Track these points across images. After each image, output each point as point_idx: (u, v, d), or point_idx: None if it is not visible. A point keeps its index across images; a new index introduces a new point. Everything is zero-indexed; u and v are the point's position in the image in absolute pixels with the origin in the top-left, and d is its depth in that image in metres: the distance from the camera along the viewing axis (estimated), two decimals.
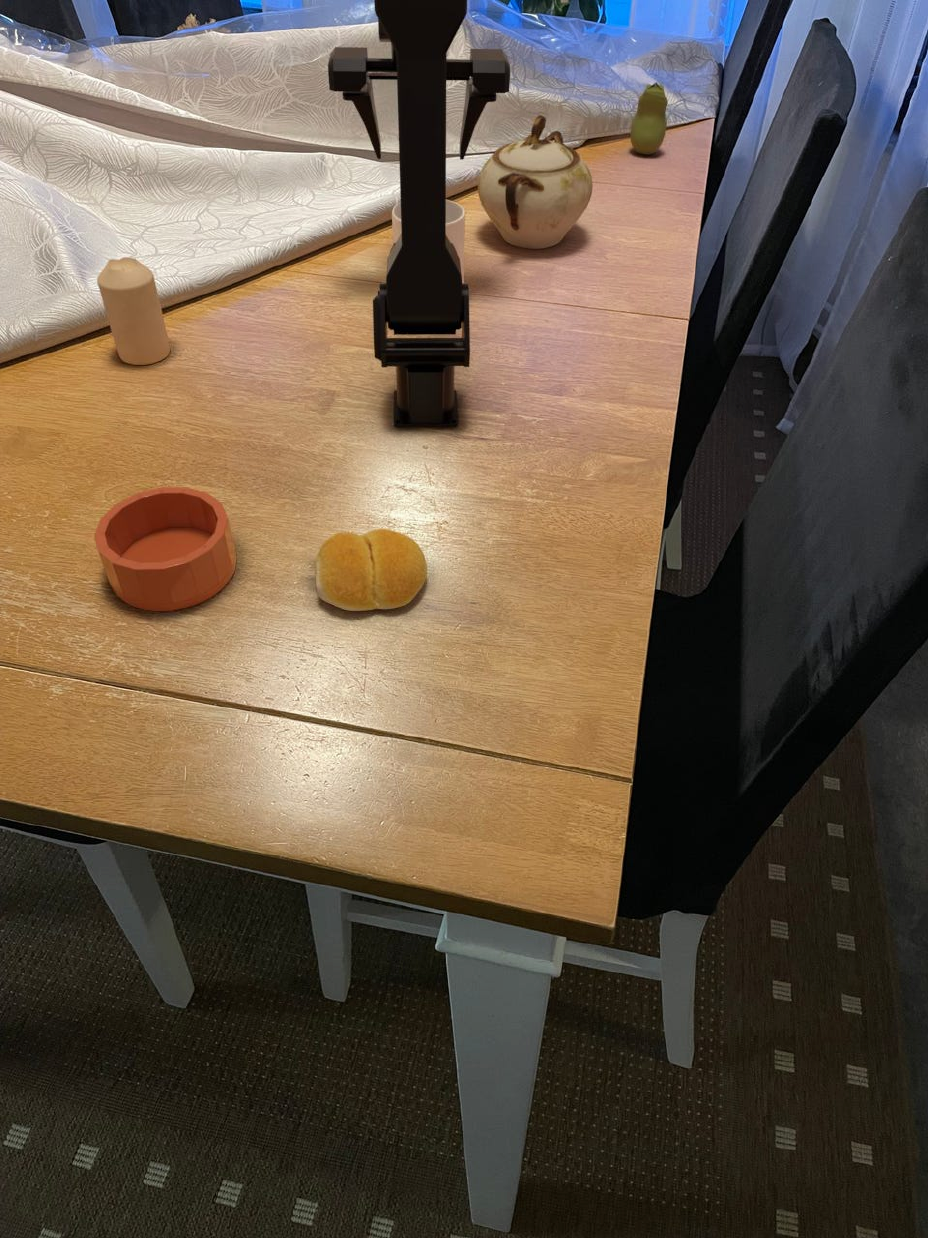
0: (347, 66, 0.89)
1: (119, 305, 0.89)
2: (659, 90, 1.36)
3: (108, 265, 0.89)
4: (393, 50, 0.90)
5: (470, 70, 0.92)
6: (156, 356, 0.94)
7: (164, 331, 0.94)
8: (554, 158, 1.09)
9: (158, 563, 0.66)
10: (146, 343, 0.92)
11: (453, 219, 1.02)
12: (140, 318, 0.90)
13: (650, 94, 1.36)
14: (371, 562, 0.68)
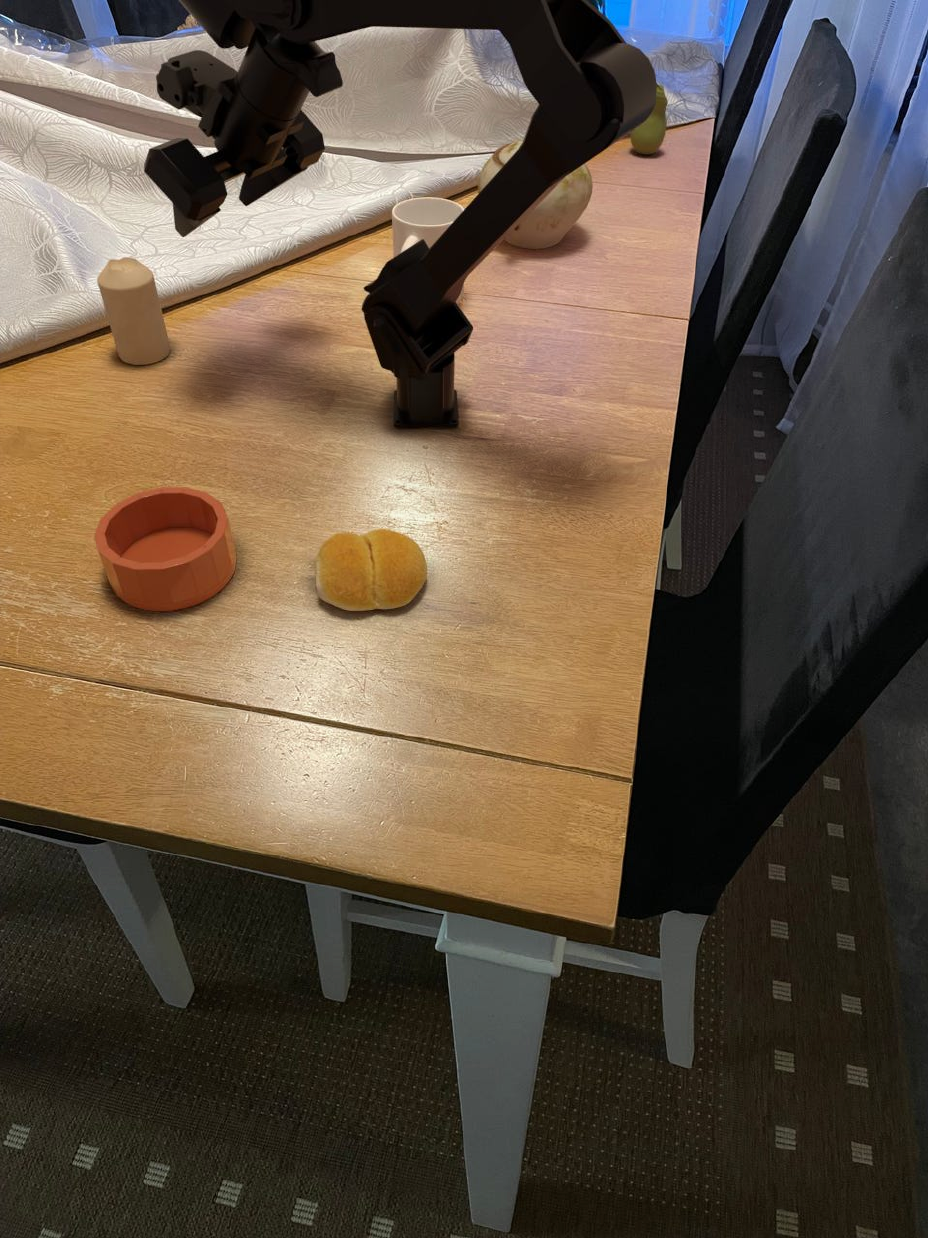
0: (211, 195, 0.76)
1: (119, 305, 0.89)
2: (659, 90, 1.36)
3: (108, 265, 0.89)
4: (238, 155, 0.78)
5: None
6: (156, 356, 0.94)
7: (164, 331, 0.94)
8: None
9: (158, 563, 0.66)
10: (146, 343, 0.92)
11: (453, 219, 1.02)
12: (140, 318, 0.90)
13: None
14: (371, 562, 0.68)
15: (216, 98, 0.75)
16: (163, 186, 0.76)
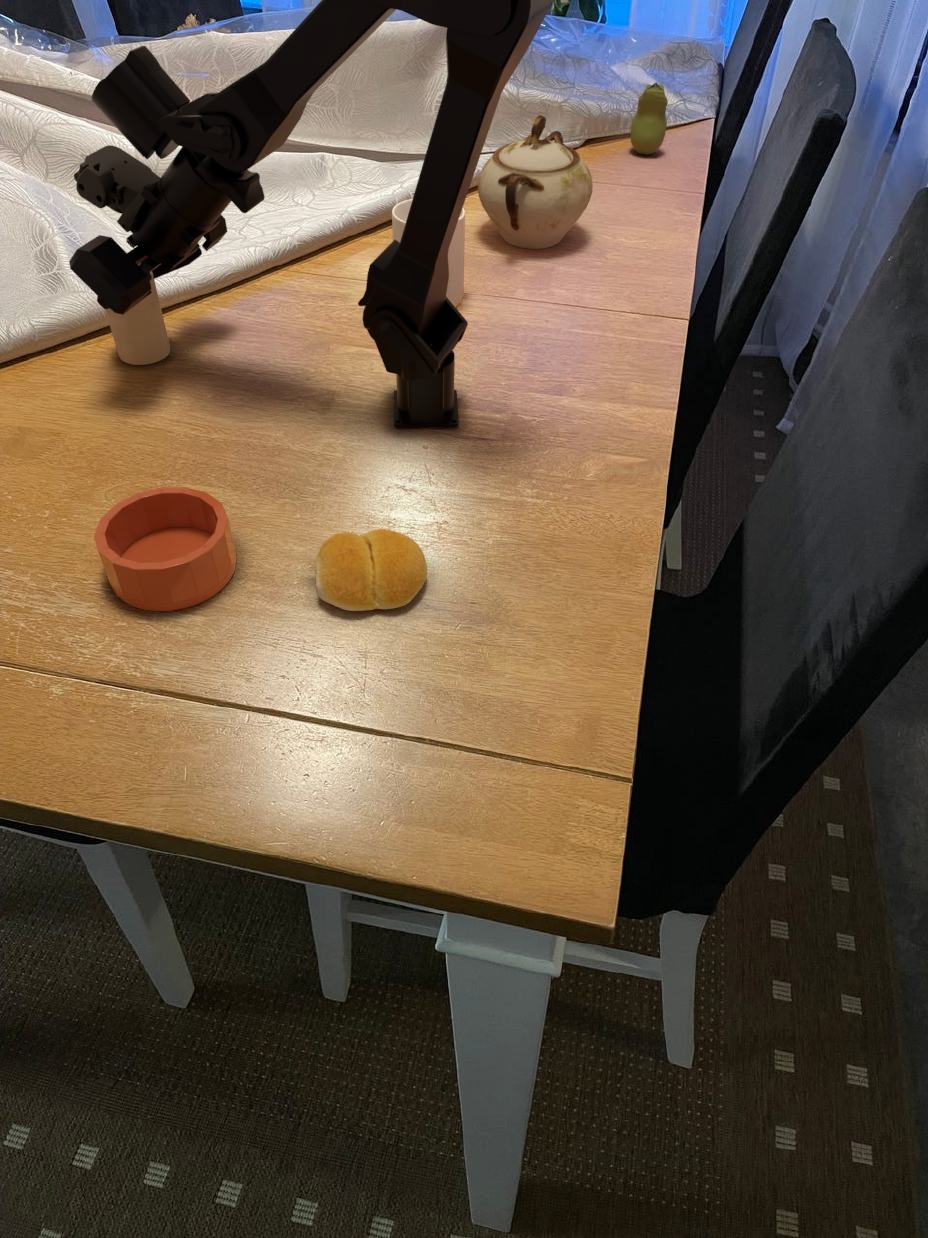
0: (139, 292, 0.81)
1: None
2: (659, 90, 1.36)
3: None
4: (158, 250, 0.83)
5: None
6: (156, 356, 0.94)
7: (164, 331, 0.94)
8: (554, 158, 1.09)
9: (158, 563, 0.66)
10: (146, 343, 0.92)
11: None
12: (140, 318, 0.90)
13: (650, 94, 1.36)
14: (371, 562, 0.68)
15: (138, 201, 0.80)
16: (91, 283, 0.80)
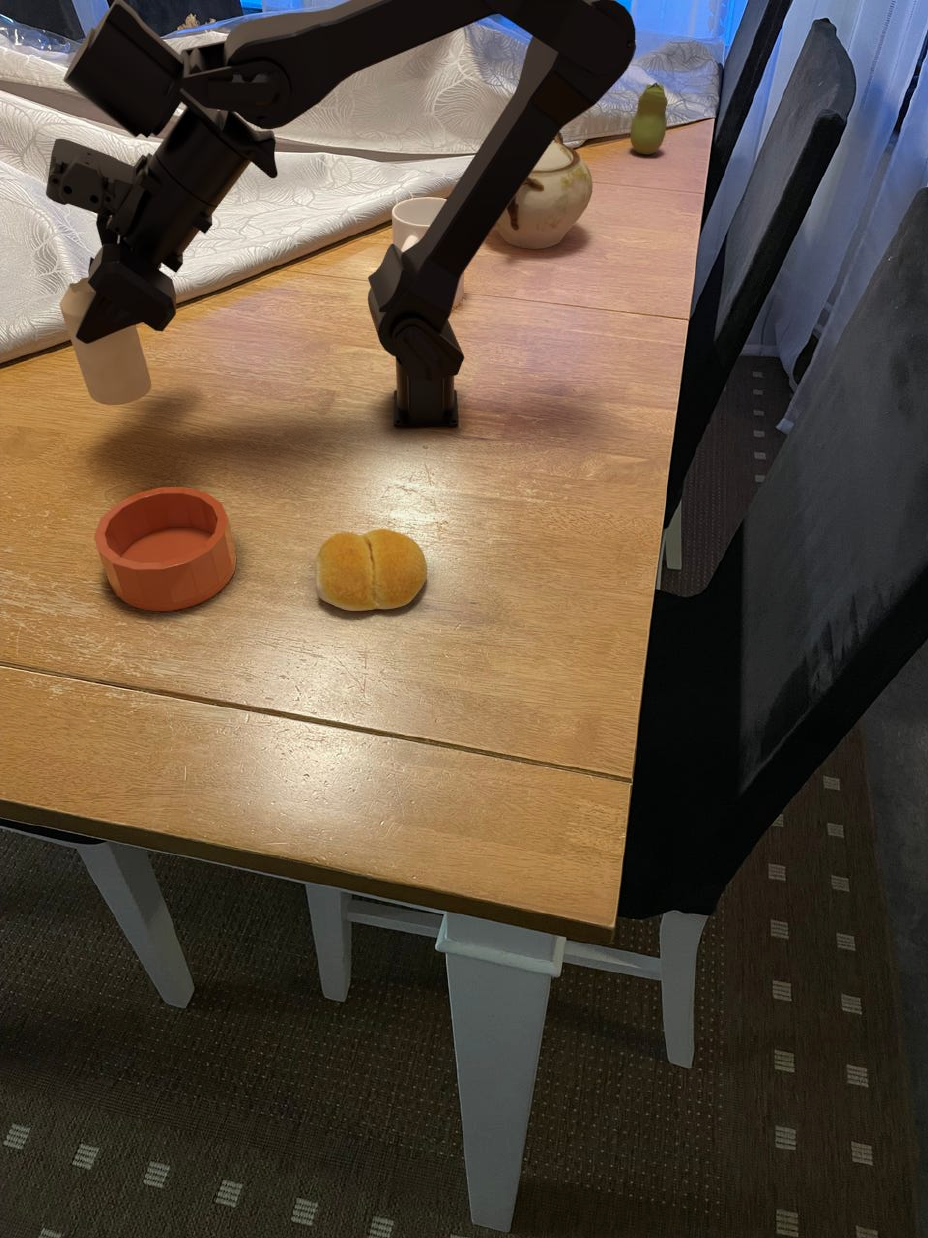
0: (174, 299, 0.68)
1: None
2: (659, 90, 1.36)
3: (72, 291, 0.73)
4: (164, 250, 0.70)
5: None
6: (146, 387, 0.79)
7: (143, 356, 0.79)
8: (554, 158, 1.09)
9: (158, 563, 0.66)
10: (136, 373, 0.77)
11: None
12: (128, 344, 0.75)
13: (650, 94, 1.36)
14: (371, 562, 0.68)
15: (136, 193, 0.67)
16: (124, 302, 0.65)
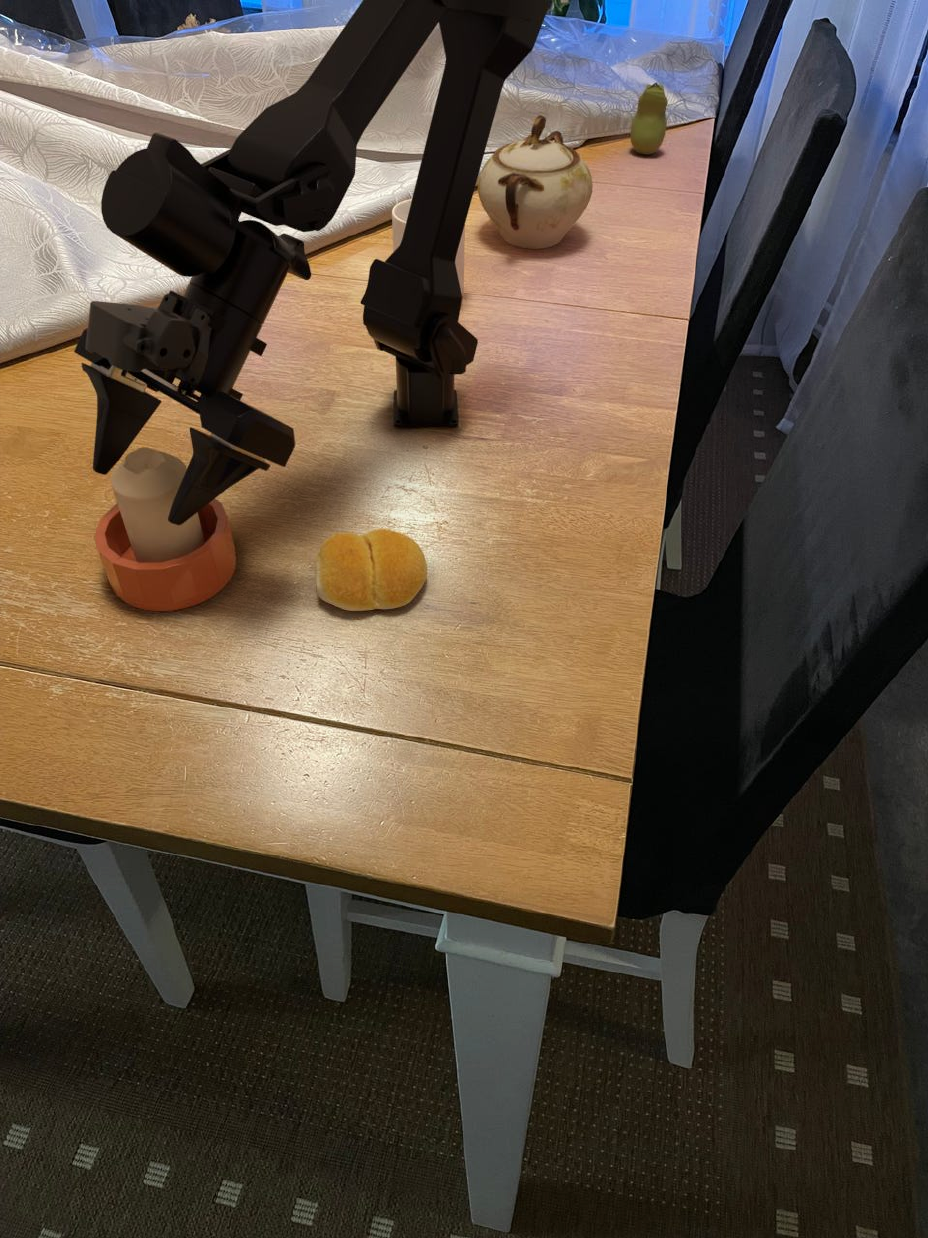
0: None
1: None
2: (659, 90, 1.36)
3: (133, 473, 0.64)
4: (229, 386, 0.64)
5: None
6: None
7: None
8: (554, 158, 1.09)
9: (158, 563, 0.66)
10: (202, 534, 0.70)
11: None
12: None
13: (650, 94, 1.36)
14: (371, 562, 0.68)
15: (206, 335, 0.60)
16: (261, 449, 0.60)
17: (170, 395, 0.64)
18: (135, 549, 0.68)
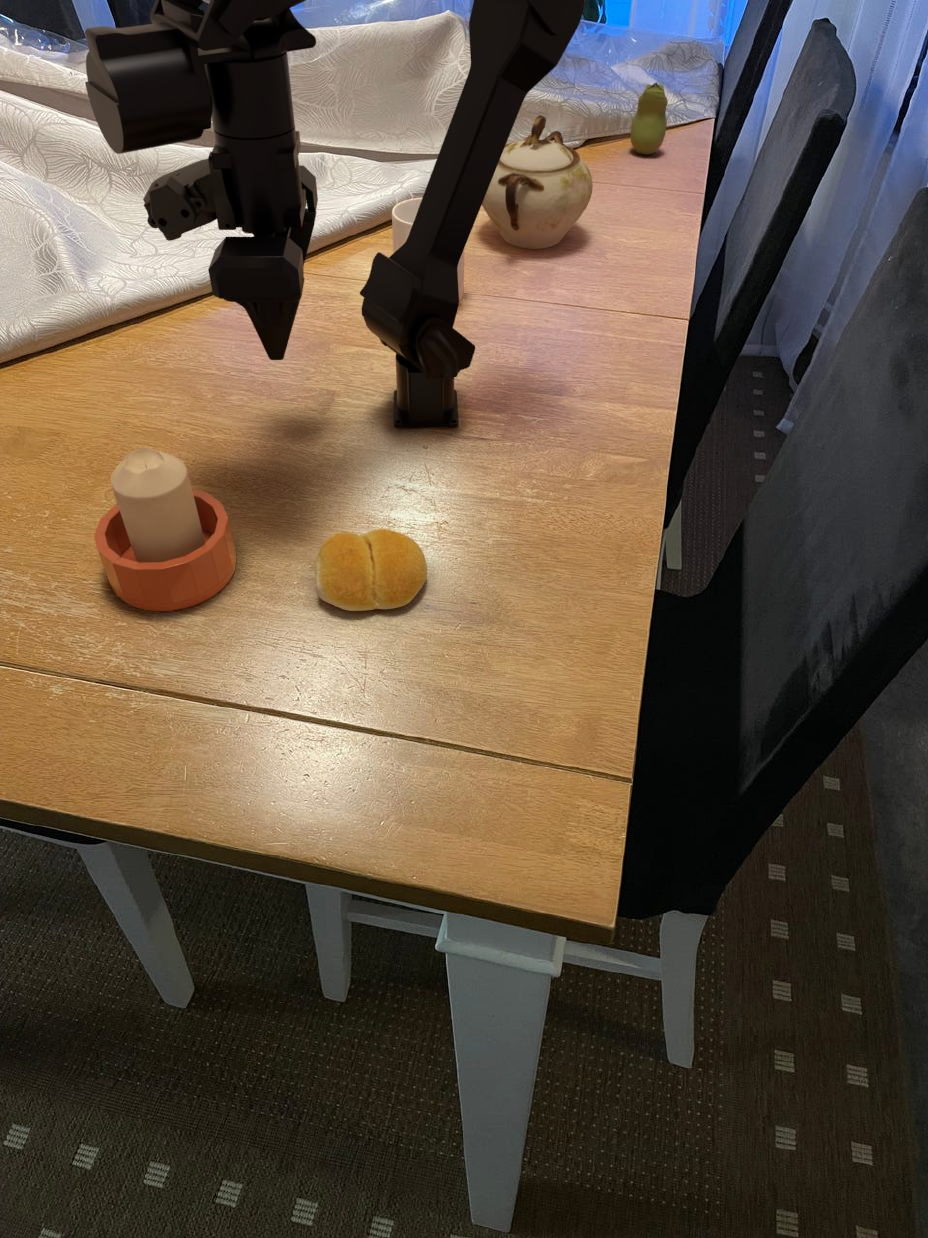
0: (294, 255, 0.62)
1: (183, 505, 0.66)
2: (659, 90, 1.36)
3: (133, 473, 0.64)
4: (275, 213, 0.64)
5: None
6: None
7: None
8: (554, 158, 1.09)
9: (158, 563, 0.66)
10: (202, 534, 0.70)
11: None
12: (195, 506, 0.68)
13: (650, 94, 1.36)
14: (371, 562, 0.68)
15: (217, 178, 0.62)
16: (249, 291, 0.61)
17: None
18: (135, 549, 0.68)
